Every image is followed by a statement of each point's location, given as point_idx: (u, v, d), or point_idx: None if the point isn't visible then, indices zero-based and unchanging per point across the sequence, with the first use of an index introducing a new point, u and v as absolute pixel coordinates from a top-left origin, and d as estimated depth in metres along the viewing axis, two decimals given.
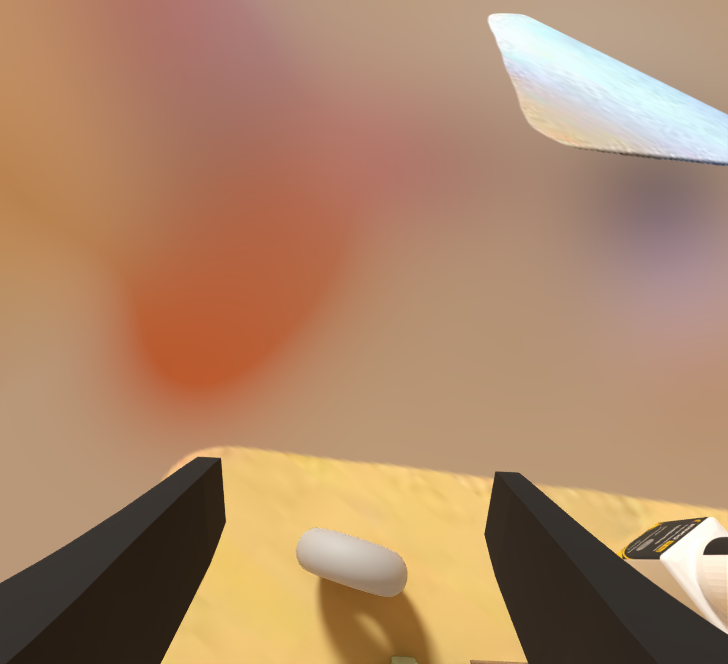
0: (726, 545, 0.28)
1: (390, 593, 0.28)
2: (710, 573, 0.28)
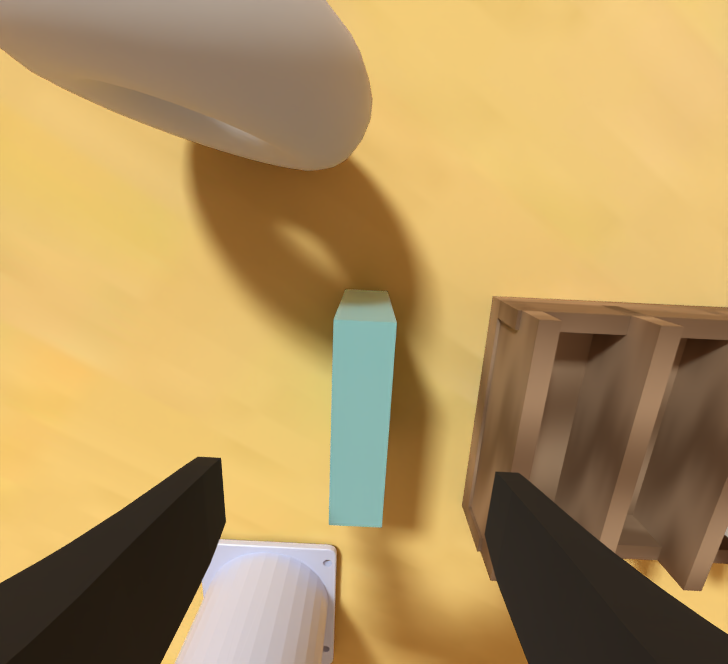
0: None
1: (297, 125, 0.08)
2: None
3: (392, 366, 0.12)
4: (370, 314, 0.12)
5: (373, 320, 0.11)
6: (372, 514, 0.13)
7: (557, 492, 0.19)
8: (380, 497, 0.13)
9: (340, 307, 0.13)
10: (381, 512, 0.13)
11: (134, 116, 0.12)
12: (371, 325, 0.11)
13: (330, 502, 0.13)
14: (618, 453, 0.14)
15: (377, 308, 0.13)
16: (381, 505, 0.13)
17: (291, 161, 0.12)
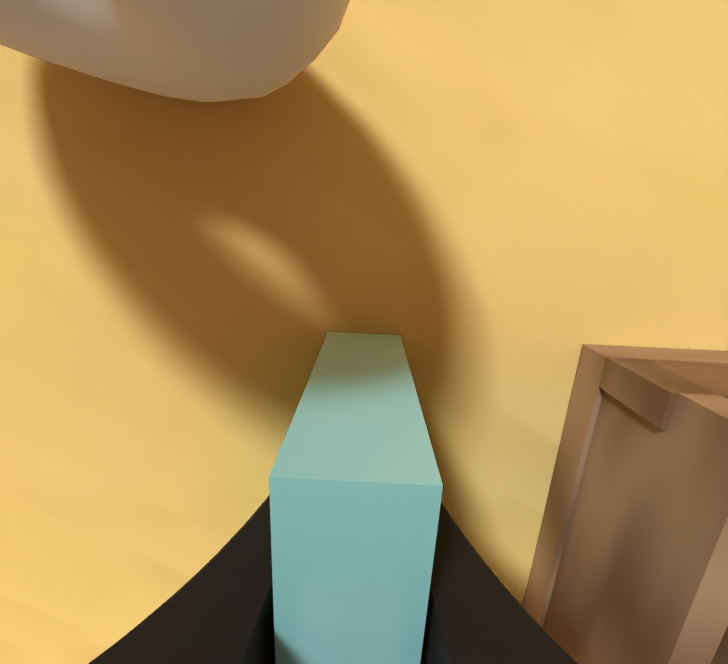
0: None
1: None
2: None
3: (427, 583, 0.05)
4: (370, 436, 0.05)
5: (378, 475, 0.04)
6: None
7: None
8: None
9: (303, 403, 0.06)
10: None
11: None
12: (374, 490, 0.04)
13: None
14: None
15: (386, 402, 0.06)
16: None
17: (170, 55, 0.05)
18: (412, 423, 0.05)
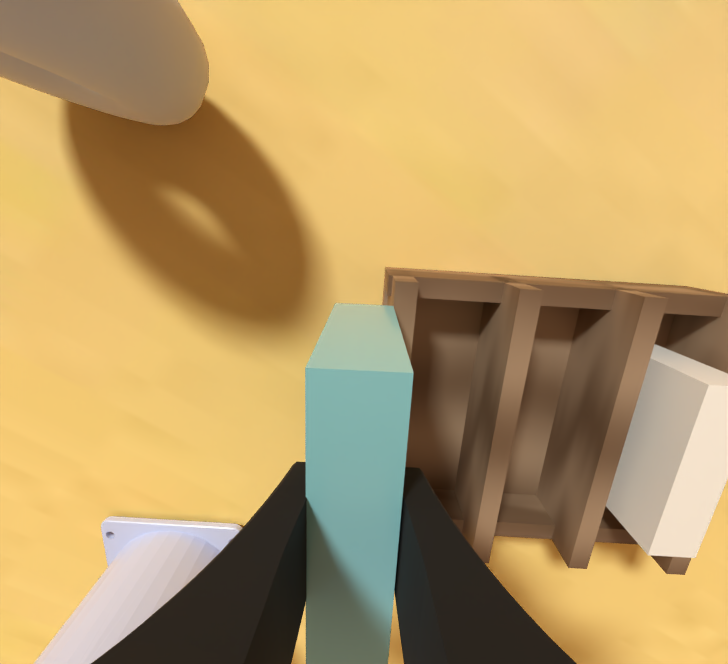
0: None
1: (67, 51, 0.08)
2: None
3: (405, 443, 0.07)
4: (368, 353, 0.08)
5: (373, 368, 0.07)
6: (371, 656, 0.09)
7: (457, 470, 0.18)
8: (384, 634, 0.08)
9: (322, 338, 0.08)
10: (386, 654, 0.09)
11: None
12: (370, 377, 0.07)
13: (307, 639, 0.09)
14: (492, 424, 0.14)
15: (380, 339, 0.09)
16: (386, 645, 0.09)
17: (129, 110, 0.11)
18: (397, 349, 0.08)
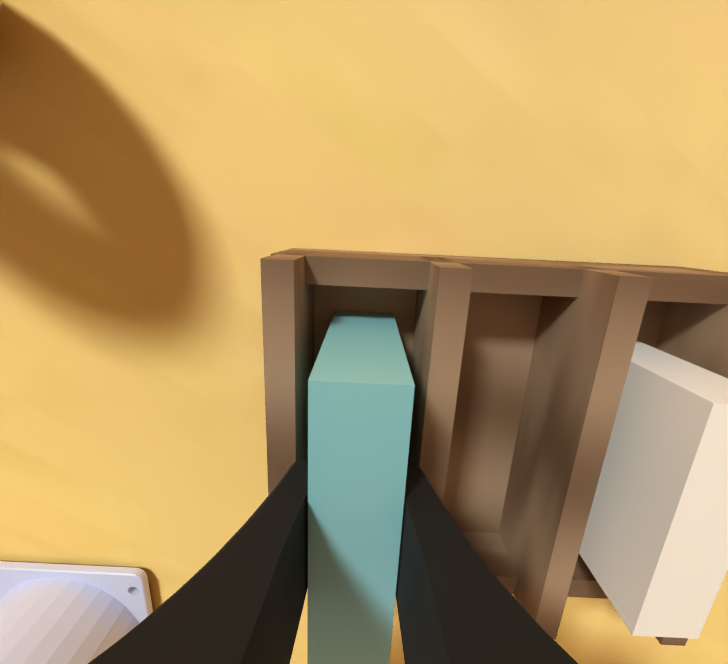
0: None
1: None
2: None
3: (406, 453, 0.07)
4: (370, 364, 0.08)
5: (375, 380, 0.07)
6: (372, 663, 0.09)
7: None
8: (385, 640, 0.09)
9: (323, 349, 0.08)
10: (387, 660, 0.09)
11: None
12: (372, 389, 0.07)
13: (309, 646, 0.09)
14: (418, 455, 0.10)
15: (380, 349, 0.09)
16: (387, 651, 0.09)
17: None
18: (398, 359, 0.08)
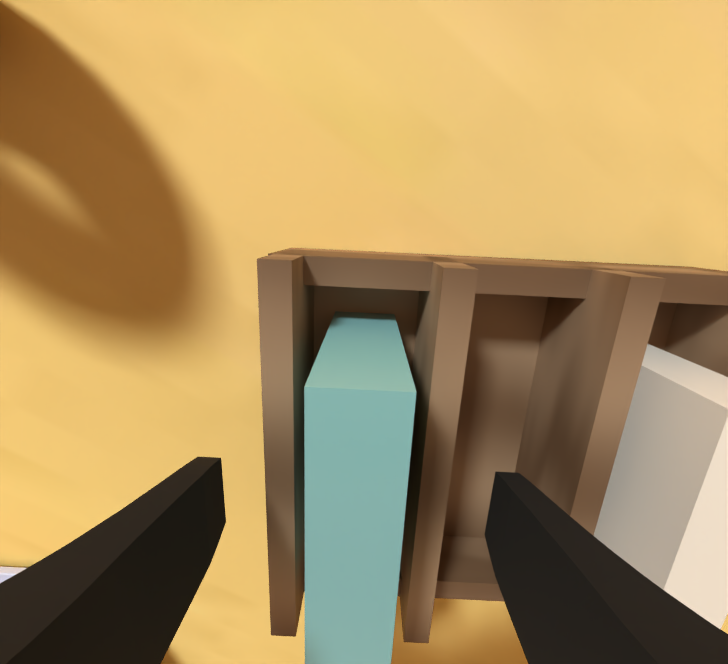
0: None
1: None
2: None
3: (407, 463, 0.07)
4: (370, 369, 0.07)
5: (375, 387, 0.06)
6: None
7: None
8: (385, 655, 0.08)
9: (322, 352, 0.08)
10: None
11: None
12: (372, 396, 0.06)
13: (307, 661, 0.08)
14: (421, 461, 0.10)
15: (381, 353, 0.08)
16: None
17: None
18: (399, 364, 0.08)
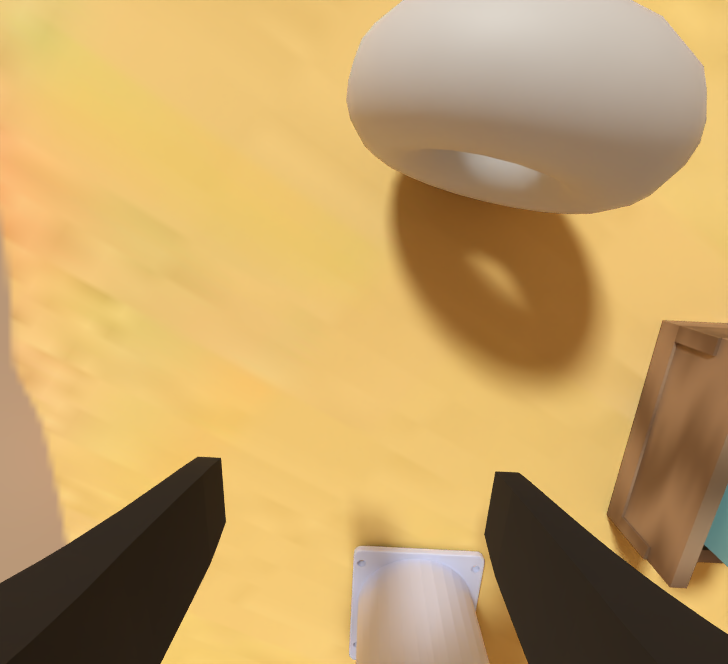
0: None
1: (645, 192, 0.09)
2: None
3: None
4: None
5: None
6: None
7: None
8: None
9: None
10: None
11: (403, 165, 0.13)
12: None
13: None
14: None
15: None
16: None
17: (548, 207, 0.13)
18: None
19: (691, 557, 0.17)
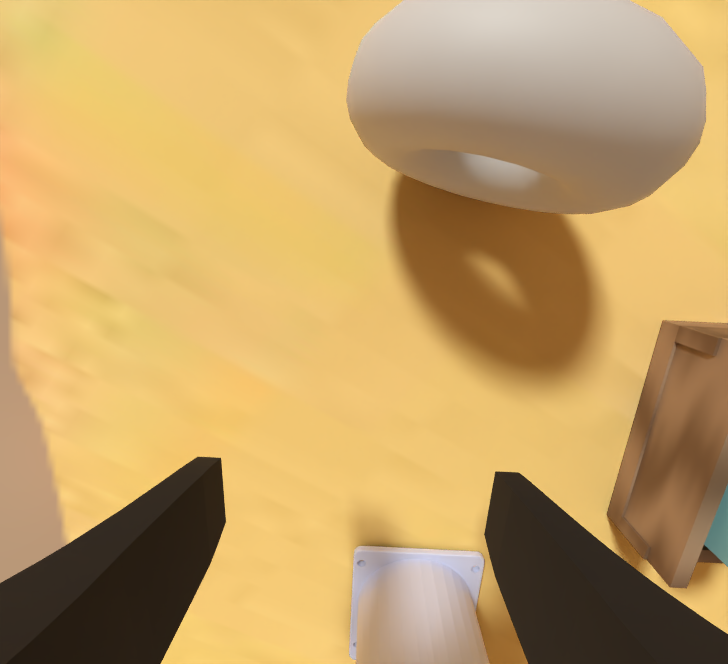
0: None
1: (644, 193, 0.09)
2: None
3: None
4: None
5: None
6: None
7: None
8: None
9: None
10: None
11: (403, 166, 0.13)
12: None
13: None
14: None
15: None
16: None
17: (548, 207, 0.13)
18: None
19: (691, 557, 0.17)
